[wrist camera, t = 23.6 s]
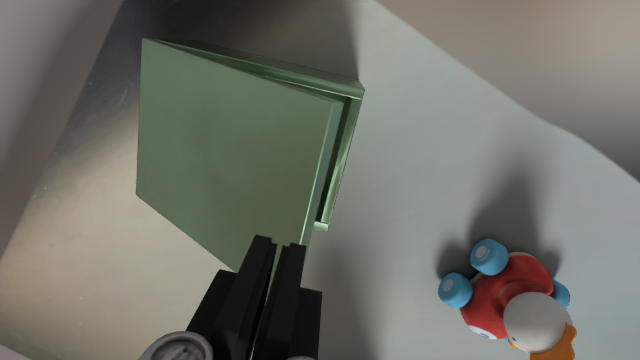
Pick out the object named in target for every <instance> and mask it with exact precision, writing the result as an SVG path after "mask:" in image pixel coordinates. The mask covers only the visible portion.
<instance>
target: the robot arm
mask: <svg viewBox="0 0 640 360" xmlns="http://www.w3.org/2000/svg"><path fill="white" fill-rule="evenodd" d="M277 245H278V244H276V243H272V238H270V237H265V236H261V235H257V234H256V235H255V236H254V238H253V241H252V243H251V245H250V247H249V249H248V251H247V254H246V256H245V258H244V260H243V262H242V265H241V267H240V269H239V271H238V273H234V272H230V271H225V270H221V269H220V270H219V271H218V272H217V274H216V276H215V278H214V279H213V281H212V283H211V285H210V287H209V289H208V290H207V292H206V294H205V296H204V298H203V300H202V301H201V303H200V305H199V307H198V309H197V310H196V312H195V314H194V316H193V318H192V320H191V321H190V323H189V325H188V327H187V329H186V331H178V332H173V333H170V334H166V335H164V336H162V337H161V338H159V339H157V340H156V341H155V342H154V343H153V344H151V345H150V346H149V348H148V349H147V350H146V351H145V352H144V353H143V354H142V356H141V357H140V358H139V359H138V360H250V358H251V355H252V351H253V355H252V360H317V359H318V345H319V332H320V318H321V304H322V292H320V291H316V290H311V289H307V288H302V287H300V284H301V278H302V272H303V266H304V260H305V254H306V248H307V246H306V245H301V244H297V243H292V242H290V246H285V245H283V246H282V250H281V253H280V257H279V260H278V263H277V267H276V270H275V274H274V277H273V281H272V284H271V287H270V291H269V294H268V298H267V293H268V288H269V284H270V279H271V274H272V269H273V265H274V260H275V255H276V250H277ZM266 298H267V301H266ZM265 303H266V305H265ZM254 344H255V345H254ZM253 348H254V350H253Z"/></svg>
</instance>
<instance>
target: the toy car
mask: <svg viewBox="0 0 640 360" xmlns="http://www.w3.org/2000/svg"><path fill="white" fill-rule="evenodd" d="M470 262H471V264H472V266H473V267H474V268H475V269H477V270H479V271H480V272H479V273H478V274H477V275H476V276H475V277H474V278H473V279H472V280H471V281H469V280H468V279H467V278H465V277H464V276H462V275H461V274H459V273H450V274H448V275H446V276H445V277H444V278H443V280H442V281H441V283H440V285H439V289H438V294H439V297H440V299H441V300H442V301H443V302H444V303H446V304H448V305H449V306H451V307H453V308H460V311H461V314H462V317H463V319H464V320H465V322H466V324H467V325H468V326H469V327H470V328H471V329H472V330H473V331H474V332H475V333H477V334H479V335H480V336H483V337H486V338H490V339H502V338H503V339H505V340H506V341H508V342H509V344H510V345H511V346H512V347H513V348H516V349H523V350H524V351H526V352H528V353H530V360H574V359H575V353H574V350H573V348H572V344H571V342H572V341H573V340H574V339H575V337H576V335H577V331H576V329H575V327H574V326H573V324H572V320H571V318H570V316H569V314H568V312H567V311H566V308H567V306H568V305H569V302H570V294H569V291H568V289H567V288H566V287H565V286H564V285H562V284H560V283H559V282H557V281H556V280H554V279H551V277H550V274H549V272H548V271H547V269H546V268H545V266H544V265H543V264H542V263H541V262H540V261H539V260H538V259H536V258H535V257H534V256H532V255H530V254H527V253H524V252H510V253H508V251H507V249H506V248H505V247H504V246H503V245H501V244H500V243H498V242H497V241H495V240H493V239H490V238H486V239H483V240H481V241H479V242H478V243H477V244H476V245H475V246H474V247H473V249H472V251H471V254H470Z"/></svg>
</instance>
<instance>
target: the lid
mask: <svg viewBox="0 0 640 360" xmlns="http://www.w3.org/2000/svg"><path fill="white" fill-rule="evenodd" d="M342 109H343V103H342V102H340V101H337V100H334V99H331V98H328V97H325V96H322V95H319V94H316V93H313V92H310V91H307V90H304V89H301V88H298V87H295V86H292V85H289V84H286V83H283V82H280V81H277V80H274V79H271V78H268V77H265V76H262V75H259V74H256V73H253V72H250V71H247V70H244V69H242V68H239V67H236V66H233V65H230V64H227V63H224V62H221V61H218V60H215V59H212V58H209V57H206V56H203V55H200V54H197V53H194V52H191V51H188V50H185V49H182V48H179V47H176V46H173V45H170V44H167V43H164V42H161V41H158V40H155V39H149V38H142V55H141V79H140V104H139V129H138V154H137V179H136V195H137V196H138V197H139V198H140V199H142V200H143V201H144V202H146V203H147V204H148V205H149V206H151V207H152V208H153V209H155V210H156V211H157V212H158V213H160V214H161V215H162V216H164V217H165V218H166V219H167V220H169V221H170V222H171V223H173V224H174V225H175V226H176V227H178V228H179V229H180V230H182V231H183V232H184V233H185V234H187V235H188V236H189V237H191V238H192V239H193V240H194V241H196V242H197V243H198V244H200V245H201V246H202V247H203V248H205V249H206V250H207V251H209V252H210V253H211V254H212V255H214V256H215V257H216V258H218V259H219V260H220V261H221V262H223V263H224V264H225V265H227V266H228V267H229V268H230V269H232V270H233V271H234V272H236V273H238V271H239V269H240V267H241V265H242V262H243V260H244V258H245V256H246V254H247V251H248V249H249V247H250V245H251V243H252V241H253V238H254V236H255V235H256V234H257V235H261V236H265V237H270V238H272V243H276V244H278V245H277V250H276V255H275V260H274V265H273V269H272V274H271V279H270V284H269V288H268V293H267V297H268V294H269V291H270V287H271V284H272V281H273V277H274V274H275V270H276V267H277V263H278V260H279V257H280V253H281V250H282V246H283V245H285V246H290V242H292V243H297V244H301V245H306V246H307V248H306V254H305V259H306V255H307V251H308V247H309V243H310V239H311V235H312V231H313V226H314V222H315V218H316V214H317V210H318V206H319V202H320V198H321V194H322V190H323V186H324V182H325V178H326V174H327V170H328V166H329V162H330V158H331V153H332V149H333V145H334V141H335V137H336V133H337V129H338V125H339V121H340V117H341V113H342ZM304 263H305V260H304ZM303 267H304V266H303Z"/></svg>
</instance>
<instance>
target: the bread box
mask: <svg viewBox="0 0 640 360" xmlns="http://www.w3.org/2000/svg"><path fill="white" fill-rule="evenodd" d="M155 40H158V41H161V42H164V43H167V44H170V45H173V46H176V47H179V48H182V49H185V50H188V51H191V52H194V53H197V54H200V55H203V56H206V57H209V58H212V59H215V60H218V61H221V62H224V63H227V64H230V65H233V66H236V67H239V68H242V69H244V70H247V71H250V72H253V73H256V74H259V75H262V76H265V77H268V78H271V79H274V80H277V81H280V82H283V83H286V84H289V85H292V86H295V87H298V88H301V89H304V90H307V91H310V92H313V93H316V94H319V95H322V96H325V97H328V98H331V99H334V100H337V101H340V102H342V103H343V109H342V113H341V117H340V121H339V125H338V129H337V133H336V137H335V141H334V145H333V149H332V153H331V158H330V162H329V166H328V170H327V174H326V178H325V182H324V186H323V190H322V194H321V198H320V202H319V206H318V210H317V214H316V218H315V222H314V226H313V229H315V230H320V231H324V232H327V231H328V228H329V223H330V220H331V216H332V212H333V209H334V205H335V201H336V197H337V193H338V190H339V186H340V182H341V178H342V175H343V171H344V167H345V163H346V159H347V156H348V152H349V148H350V144H351V140H352V137H353V133H354V129H355V125H356V122H357V118H358V114H359V110H360V106H361V103H362V99H363V95H364V91H365V89H364V87H363V86H362V84H361V83H360V81H359V80H357V79H353V78H349V77H345V76H340V75H336V74H332V73H328V72H324V71H319V70H315V69H311V68H307V67H303V66H298V65H294V64H290V63H286V62H282V61H277V60H273V59H269V58H265V57H261V56H257V55H252V54H248V53H244V52H240V51H236V50H231V49H227V48H223V47H219V46H215V45H210V44H206V43H202V42H198V41H190V40H171V39H155Z"/></svg>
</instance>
